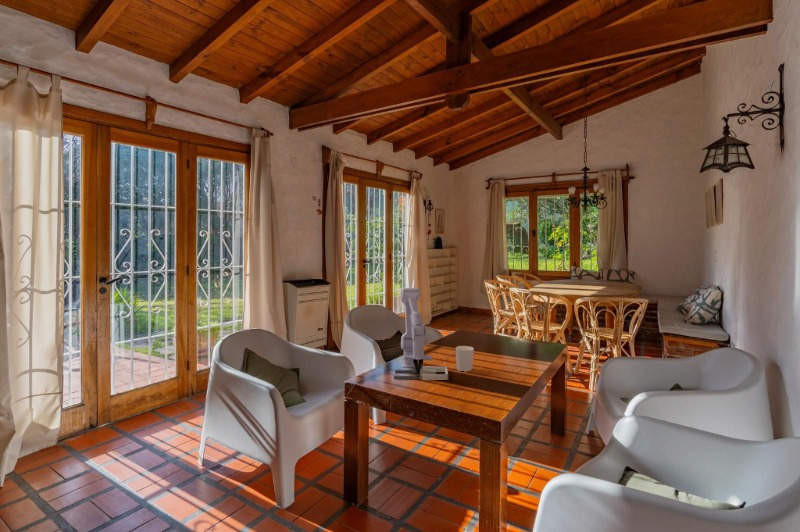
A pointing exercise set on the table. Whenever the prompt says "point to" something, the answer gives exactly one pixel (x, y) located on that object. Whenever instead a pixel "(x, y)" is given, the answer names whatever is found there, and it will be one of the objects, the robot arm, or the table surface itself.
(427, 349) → the table surface
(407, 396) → the table surface
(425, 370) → the white small block
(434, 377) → the white u-shaped bracket
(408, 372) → the channel
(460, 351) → the candle holder
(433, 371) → the chip
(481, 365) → the table surface
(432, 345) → the table surface
